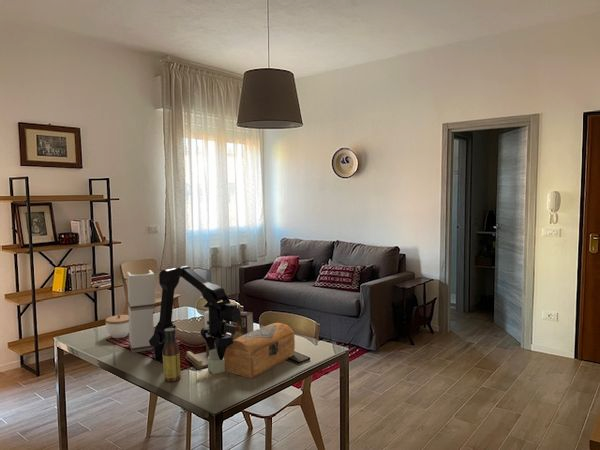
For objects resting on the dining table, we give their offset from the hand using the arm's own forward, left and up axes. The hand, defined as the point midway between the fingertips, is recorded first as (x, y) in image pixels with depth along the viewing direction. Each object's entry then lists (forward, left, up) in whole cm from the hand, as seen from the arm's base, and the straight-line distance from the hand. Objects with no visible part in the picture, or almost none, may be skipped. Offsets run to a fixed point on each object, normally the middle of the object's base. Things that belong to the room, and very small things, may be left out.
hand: (216, 356), depth 183 cm
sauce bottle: (-18, +1, -6) cm, 19 cm away
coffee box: (+21, +18, -6) cm, 29 cm away
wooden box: (+19, -4, -6) cm, 20 cm away
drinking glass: (+12, +32, -6) cm, 35 cm away
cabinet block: (0, 0, -6) cm, 6 cm away
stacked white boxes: (-17, +45, -6) cm, 49 cm away
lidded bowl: (-22, +69, -6) cm, 73 cm away
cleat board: (0, +12, -5) cm, 14 cm away
